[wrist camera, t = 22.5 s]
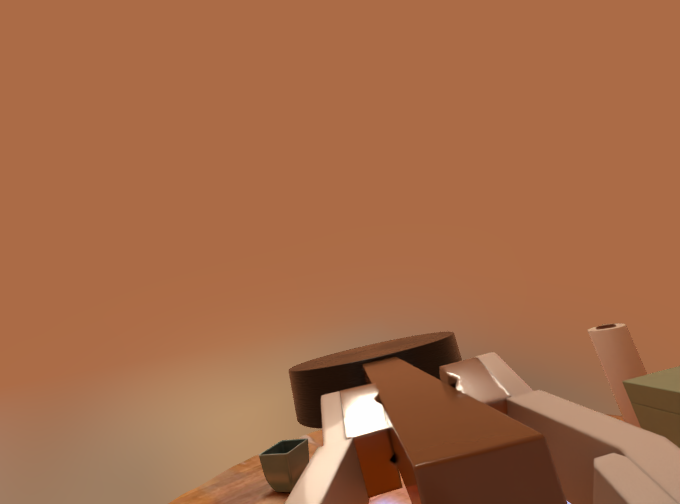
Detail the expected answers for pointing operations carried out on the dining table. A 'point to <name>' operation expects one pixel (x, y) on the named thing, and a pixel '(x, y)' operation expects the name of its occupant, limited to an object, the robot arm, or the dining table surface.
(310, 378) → the pan
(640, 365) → the paper towel roll
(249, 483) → the dining table surface
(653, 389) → the stand
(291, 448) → the flower pot
